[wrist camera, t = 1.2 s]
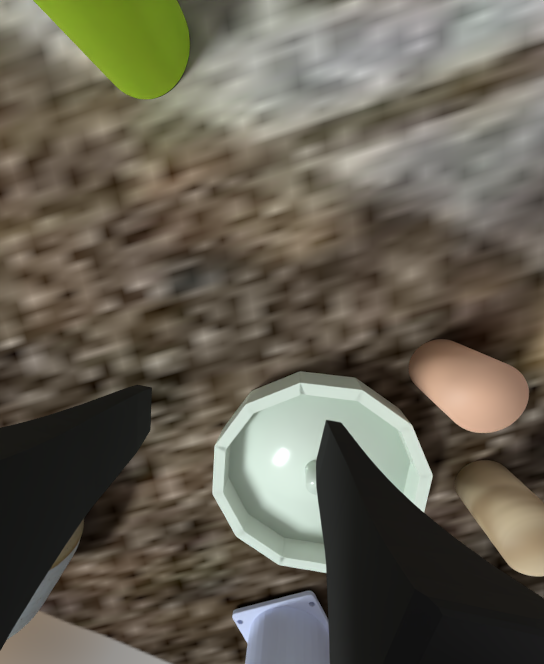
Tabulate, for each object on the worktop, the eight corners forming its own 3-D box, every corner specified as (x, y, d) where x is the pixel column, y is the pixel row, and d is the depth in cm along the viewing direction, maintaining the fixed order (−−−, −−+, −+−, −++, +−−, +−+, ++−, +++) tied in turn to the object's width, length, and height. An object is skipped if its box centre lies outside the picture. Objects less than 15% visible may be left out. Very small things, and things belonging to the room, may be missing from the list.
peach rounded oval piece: (476, 381, 19) (538, 417, 14) (419, 401, 20) (460, 442, 15) (458, 329, 18) (515, 349, 14) (400, 352, 19) (435, 378, 14)
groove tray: (442, 513, 21) (459, 540, 19) (269, 562, 24) (266, 591, 22) (371, 341, 19) (381, 350, 17) (189, 415, 22) (177, 431, 20)
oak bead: (518, 497, 21) (587, 566, 16) (464, 512, 21) (513, 583, 16) (502, 452, 20) (569, 510, 15) (447, 470, 21) (493, 530, 16)
